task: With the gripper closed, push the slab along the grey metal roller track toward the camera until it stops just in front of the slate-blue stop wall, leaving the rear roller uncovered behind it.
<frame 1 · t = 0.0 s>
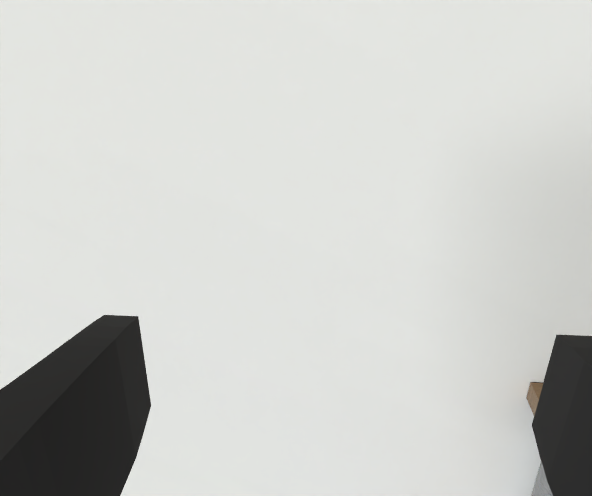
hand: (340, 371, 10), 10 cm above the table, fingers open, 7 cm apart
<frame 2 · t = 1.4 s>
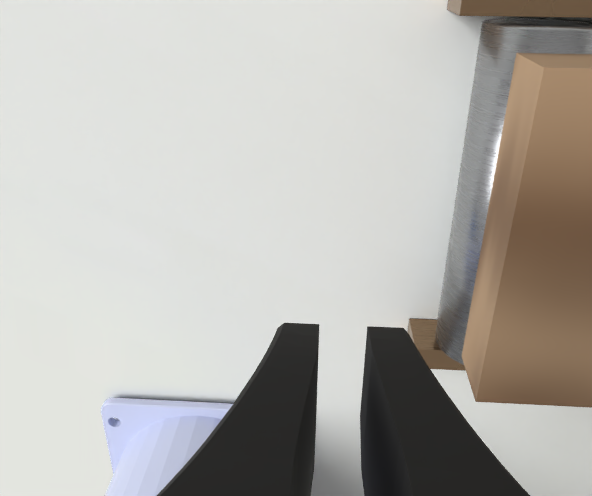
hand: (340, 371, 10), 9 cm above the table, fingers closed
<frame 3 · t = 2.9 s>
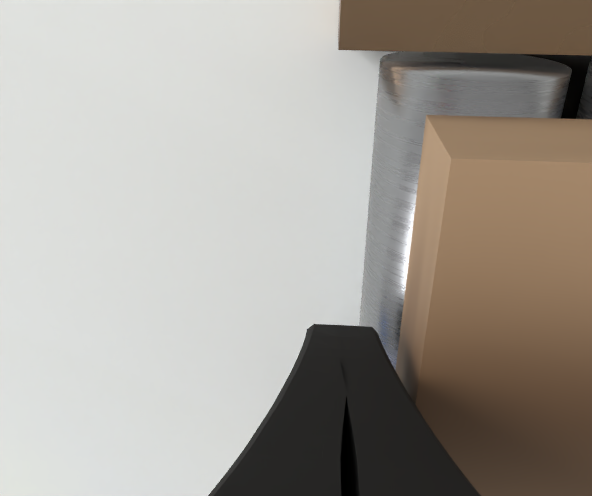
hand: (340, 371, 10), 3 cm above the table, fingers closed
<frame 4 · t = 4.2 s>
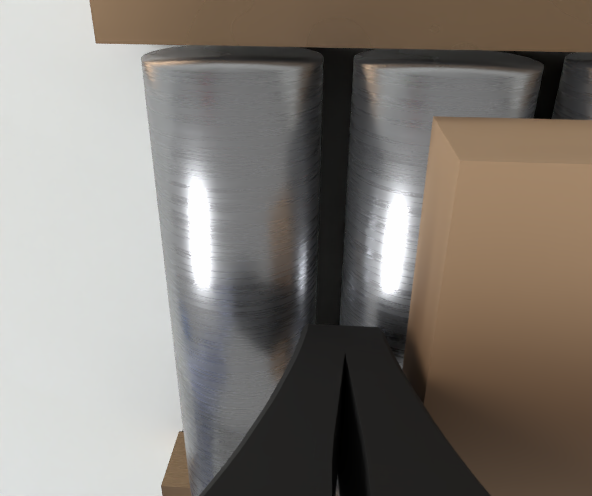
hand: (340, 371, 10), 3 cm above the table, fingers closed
roller track: (485, 280, 13), on the table
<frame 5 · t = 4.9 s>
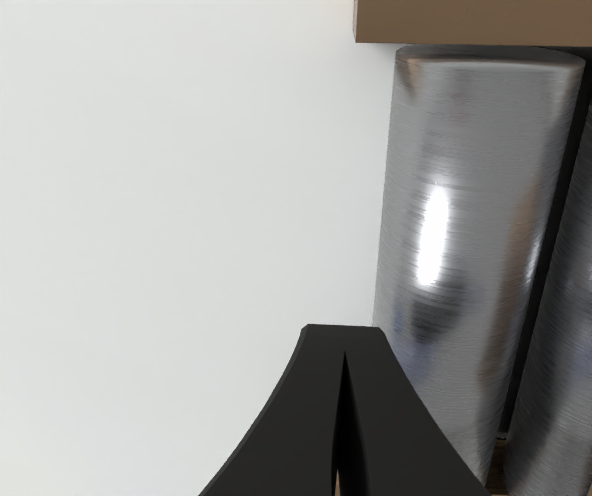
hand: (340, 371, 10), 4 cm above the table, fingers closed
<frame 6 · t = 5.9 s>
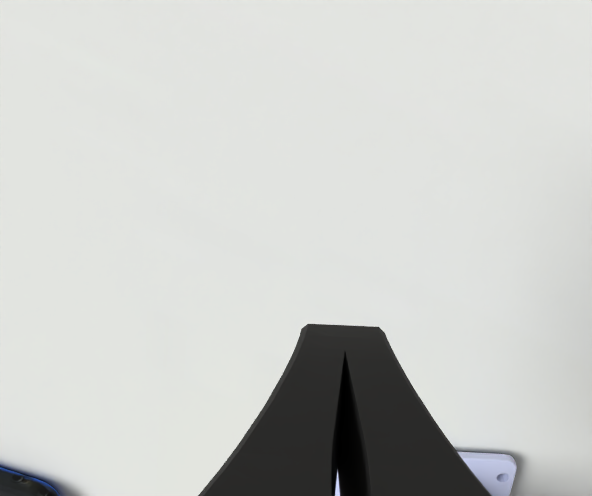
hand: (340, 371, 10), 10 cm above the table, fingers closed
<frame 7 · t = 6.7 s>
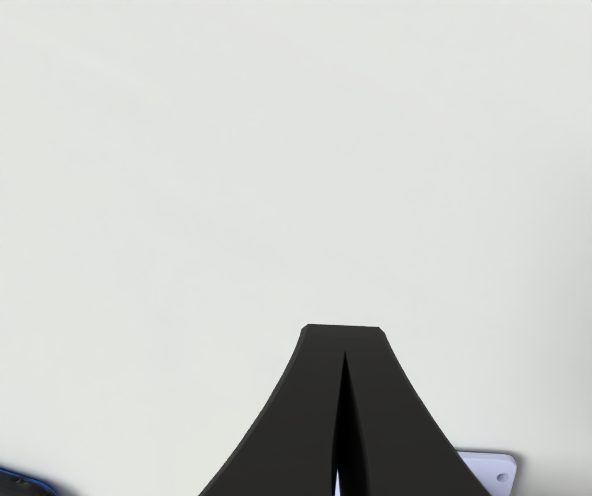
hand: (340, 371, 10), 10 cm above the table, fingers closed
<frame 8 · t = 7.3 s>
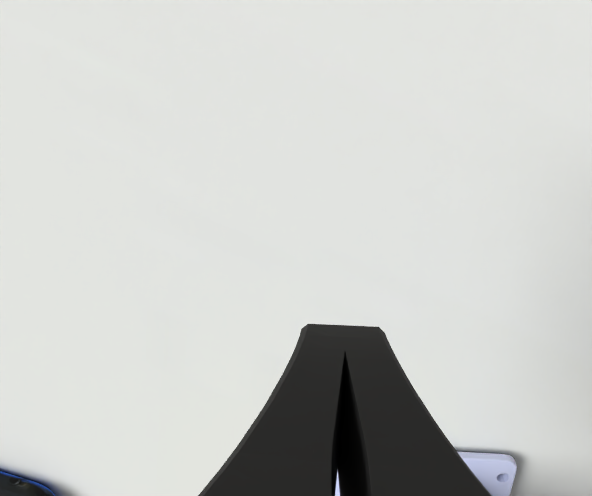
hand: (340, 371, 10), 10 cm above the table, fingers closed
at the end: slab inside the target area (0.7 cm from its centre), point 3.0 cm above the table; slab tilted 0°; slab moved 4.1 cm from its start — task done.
